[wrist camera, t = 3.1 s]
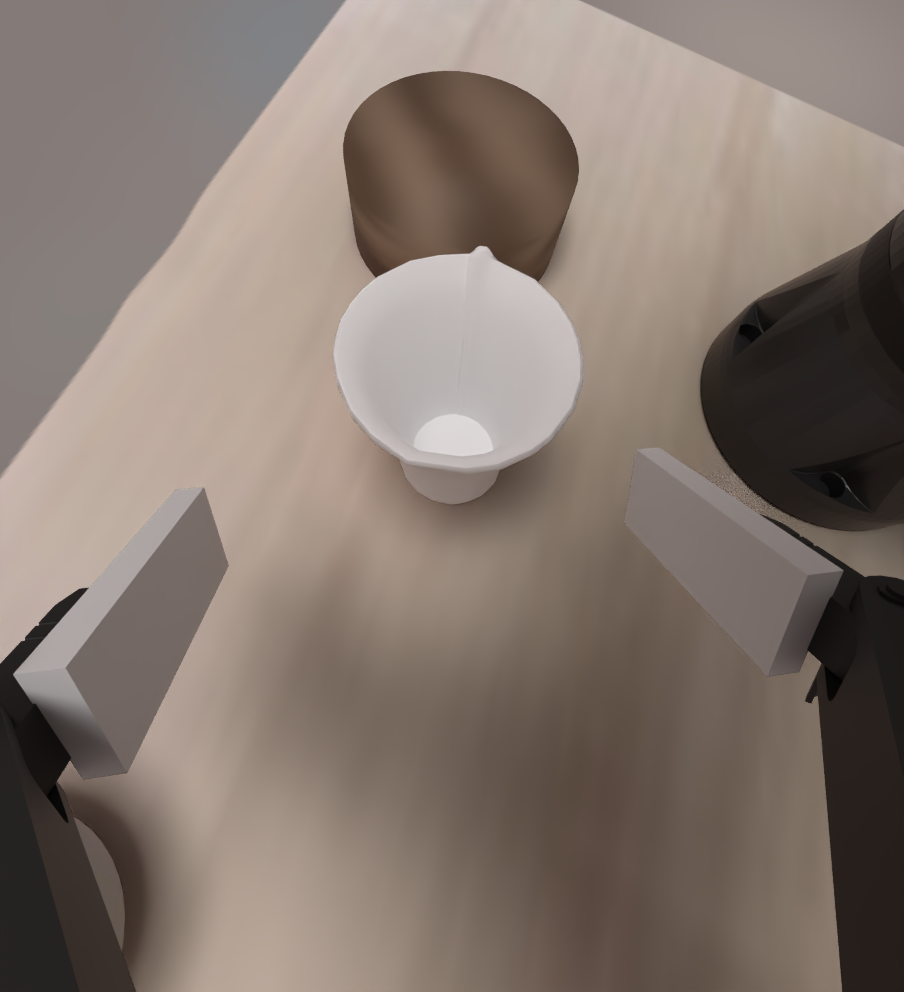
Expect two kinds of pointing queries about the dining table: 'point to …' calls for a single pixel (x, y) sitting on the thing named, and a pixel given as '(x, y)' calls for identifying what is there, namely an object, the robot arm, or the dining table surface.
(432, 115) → the walnut stand
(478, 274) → the cup
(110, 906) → the teacup
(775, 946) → the dining table surface
